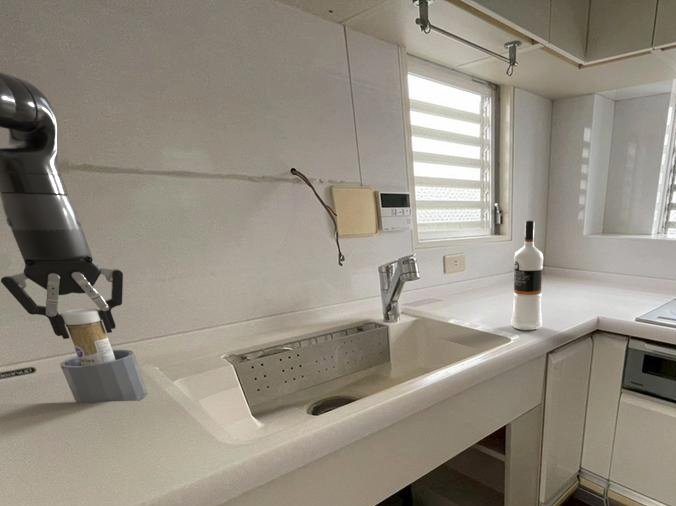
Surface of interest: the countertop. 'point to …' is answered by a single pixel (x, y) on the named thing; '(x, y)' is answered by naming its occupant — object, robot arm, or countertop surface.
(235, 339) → the countertop surface
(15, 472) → the countertop surface
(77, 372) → the blue-grey round container
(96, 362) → the sprinkles bottle
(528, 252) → the vodka
